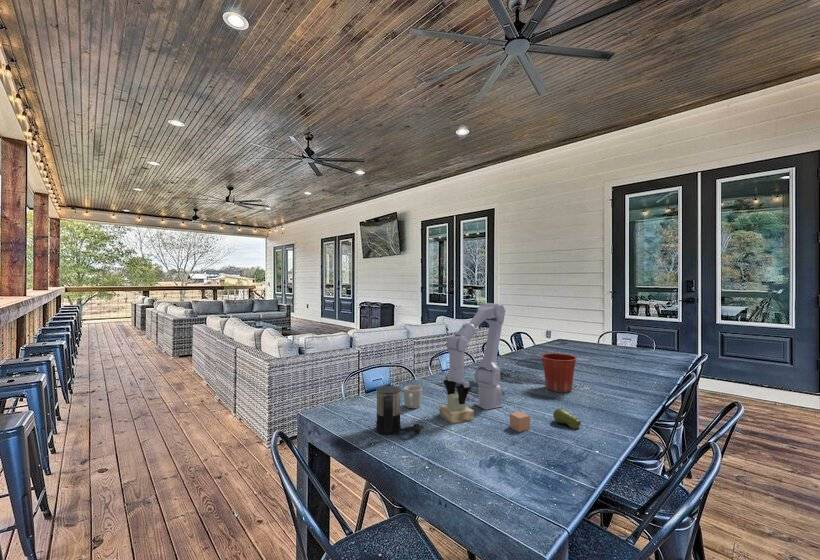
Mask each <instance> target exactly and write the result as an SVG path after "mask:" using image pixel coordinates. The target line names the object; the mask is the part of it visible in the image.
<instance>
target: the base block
mask: <svg viewBox="0 0 820 560" xmlns="http://www.w3.org/2000/svg"><path fill="white" fill-rule="evenodd" d="M438 408H439V411H438V414H439V415H438V416H440V415H441V416H440V417H442V419H444V418H445V420H446V421H447V422H448V423H450V424H451V425H453V423H454V424H458V422H459V423H464V422H463V421H465V422H470V420H471V421H475V410H474V409H473V408H471V407H469V406H467V405H466V404H465V409H464V410H459V411H453V410H452V409H450V408H448V404H443V405H439V407H438Z"/></svg>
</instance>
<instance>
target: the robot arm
mask: <svg viewBox="0 0 820 560" xmlns="http://www.w3.org/2000/svg"><path fill="white" fill-rule="evenodd" d="M505 315H506V309H505V306H504V304H502V303H495V302H494V303H493V302H492V303H491V302H490V303H489V302H481V303H480V304H479V306H477V312H476V313H475V314H474V316H473V317H472V319H471V320H470V321H469V323H468V322H465V323H463V324H462V325H461V327H460V328H459V330H458V331H456V333H455V334H454V335H450V336H448V338H447V341H446V343H445V345H446V348H447V351H448V352H447V353H448V354H449V357H448V358H449V359H448V360H449V361H448V362H449V365H448V366H449V367H448V371H449V372H447V373H446V372H445V373H444V380H443V381H442V382H443V384H444V386H445V389H446V393H447V396H448V395H449V394H454V393H458V397H459V404H460V405H461V404H465V405H466V401H467V400H466V399H467V396H468V394H469V392H470V390H471V388H472V387H471V385H470V381H468V380H467V379H466V377H465V351H466V350H467V348H468V344H469V342H470V340H471V339H472V338H473V337H474V336H475V334H476V333H477V332H476V331H477V330H476V329H477V328H479V326H480V325H481V324H482V323H483V322H484V321H485V322H486V323H487V324H488V325H489V326H488V331H487V337H486V343H485V349H484V355H483V360H482V361H481V362H480V363H478V364H477V366H476V370H475V373H474V380H475V381H476V383H477V385H478V402H474V405H475V406H477V407H480V408H481V409H483V410H491V409H492V410H493V409H497V408H502V407H504V405H503V391H502V387H501V386H500V381H501V369H500V367H499V366H498V365H497V358H498V350H499V346H500V341H501V336H502V335H501V333H502V329H503V324H504V321H505ZM457 384H458V385H457ZM456 391H457V392H456Z"/></svg>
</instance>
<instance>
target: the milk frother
mask: <svg viewBox="0 0 820 560" xmlns="http://www.w3.org/2000/svg"><path fill="white" fill-rule="evenodd" d="M375 390H376V422H375V423H376V424H375V425H376V426H375V431H376V432H377V433H379V434H381V435H394V434H398V433H399V432H406V431H407V432H409V431H414V432H420V430H422V429H424V425H420V424H419V423H413V426H412V425H411V426H407V427H403V428H402V427H401V426H402V425H401V391H402V388H401V387H399V386H395V385H382V386H381V385H380V386H378V387H376V389H375Z"/></svg>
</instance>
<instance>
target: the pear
mask: <svg viewBox="0 0 820 560" xmlns="http://www.w3.org/2000/svg"><path fill="white" fill-rule="evenodd" d="M552 416H553V419H554V421H555V422H556V423H558V424H566V425H567V426H568V427H569V428H571V429H573V430H575V429H578V428H580V426H581V425H582V423H581V421H580V420H579V418H578V417H577V416H575V415H573V414H572V413H571V412H570V411H568V410H567V409H563V408H557V409H555V410H554V411H553V415H552Z"/></svg>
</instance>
